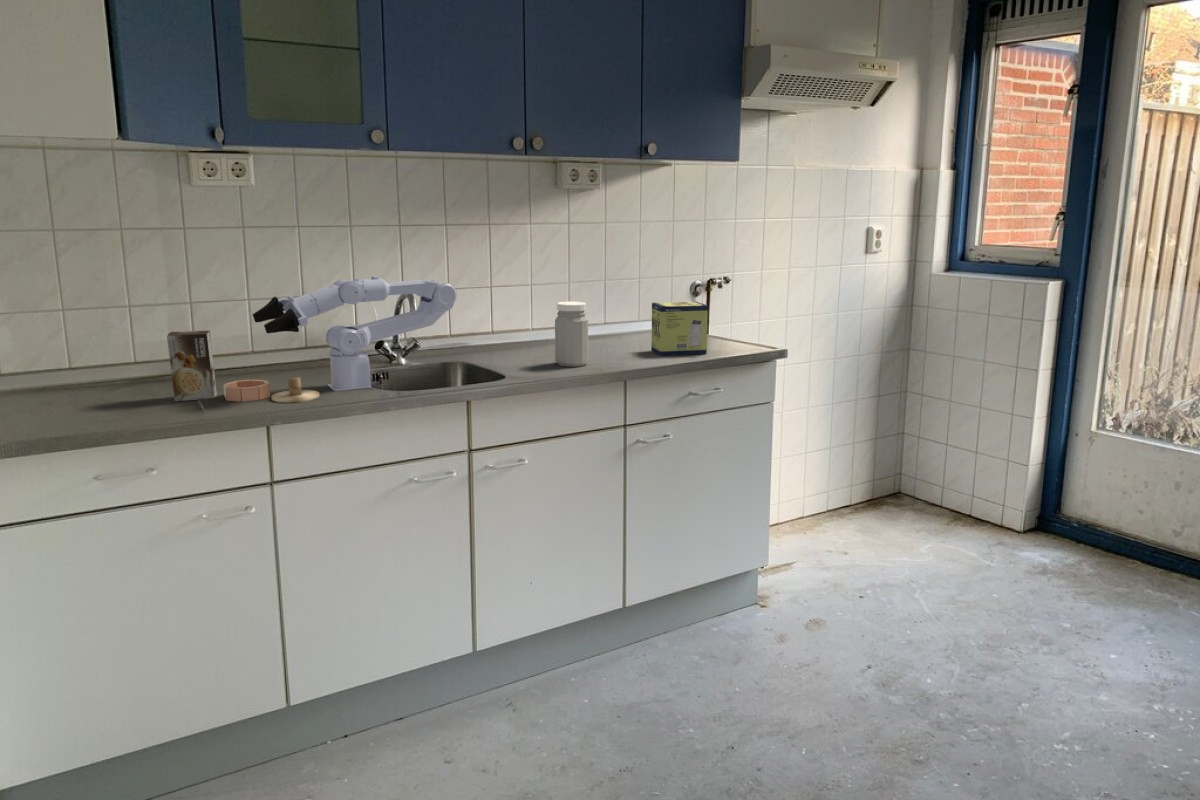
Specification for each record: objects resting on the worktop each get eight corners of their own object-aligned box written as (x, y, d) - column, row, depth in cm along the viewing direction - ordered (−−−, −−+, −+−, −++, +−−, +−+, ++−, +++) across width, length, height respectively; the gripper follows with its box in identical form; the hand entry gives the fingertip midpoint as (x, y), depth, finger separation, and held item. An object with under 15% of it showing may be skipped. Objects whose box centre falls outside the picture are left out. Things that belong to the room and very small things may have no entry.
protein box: (650, 350, 286) (651, 302, 282) (696, 349, 289) (697, 301, 286) (659, 356, 276) (660, 306, 273) (707, 354, 279) (709, 304, 276)
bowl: (265, 392, 224) (264, 378, 224) (272, 399, 216) (271, 385, 215) (223, 396, 220) (221, 382, 219) (228, 404, 211) (227, 389, 210)
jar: (548, 363, 263) (547, 302, 259) (574, 360, 269) (573, 300, 265) (569, 368, 256) (568, 305, 252) (595, 364, 262) (595, 303, 258)
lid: (314, 391, 224) (312, 372, 223) (324, 399, 214) (322, 380, 213) (268, 395, 219) (266, 376, 217) (276, 404, 209) (274, 384, 208)
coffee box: (217, 393, 222) (211, 329, 219) (214, 399, 216) (208, 333, 213) (177, 396, 220) (170, 331, 216) (173, 401, 214) (166, 335, 210)
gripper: (297, 280, 223) (244, 299, 217) (320, 299, 213) (265, 319, 207) (304, 305, 227) (252, 324, 221) (328, 325, 217) (274, 345, 211)
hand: (259, 323), depth 214 cm, fingers open, 7 cm apart
